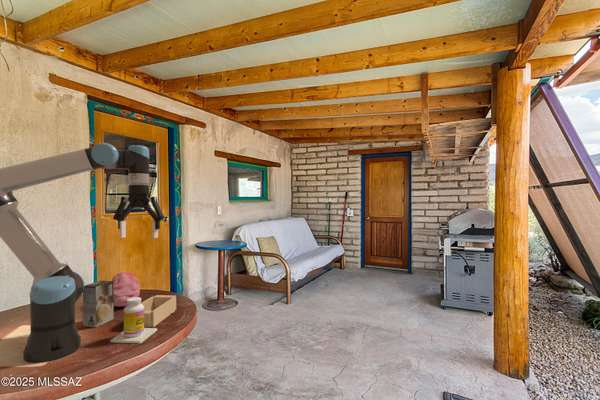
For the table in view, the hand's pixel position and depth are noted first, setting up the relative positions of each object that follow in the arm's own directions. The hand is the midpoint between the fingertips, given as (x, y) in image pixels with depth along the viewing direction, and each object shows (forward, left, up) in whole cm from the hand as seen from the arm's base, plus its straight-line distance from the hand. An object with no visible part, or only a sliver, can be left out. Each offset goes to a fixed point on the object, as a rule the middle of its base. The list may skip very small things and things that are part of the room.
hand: (139, 237), depth 128 cm
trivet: (+5, -11, -35) cm, 37 cm away
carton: (+2, +7, -35) cm, 35 cm away
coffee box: (-17, 0, -35) cm, 39 cm away
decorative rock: (-21, +22, -35) cm, 46 cm away
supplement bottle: (+5, -11, -34) cm, 36 cm away
